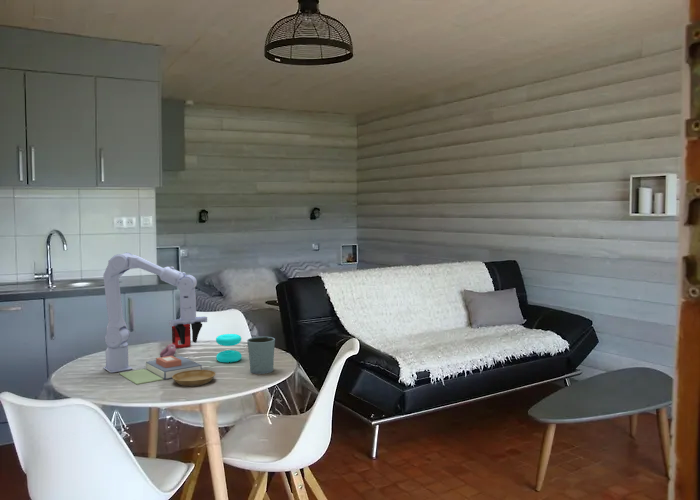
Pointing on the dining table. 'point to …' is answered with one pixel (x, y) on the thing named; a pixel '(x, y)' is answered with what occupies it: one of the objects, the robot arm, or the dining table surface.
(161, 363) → the card box
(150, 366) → the book deck
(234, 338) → the donuts
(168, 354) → the pink rounded piece
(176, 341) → the canned food
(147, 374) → the felt mat
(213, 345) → the dining table surface
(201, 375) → the plant saucer
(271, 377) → the dining table surface
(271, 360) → the grey plant pot
